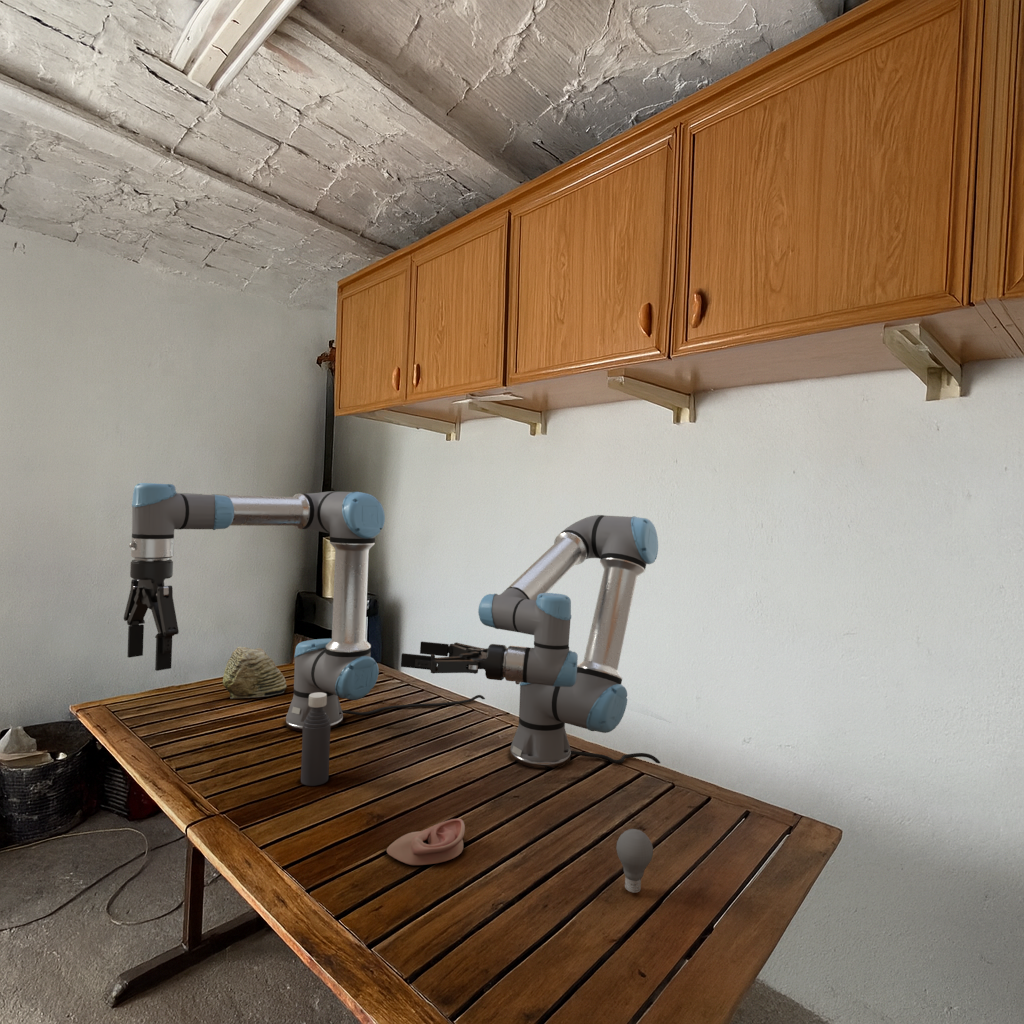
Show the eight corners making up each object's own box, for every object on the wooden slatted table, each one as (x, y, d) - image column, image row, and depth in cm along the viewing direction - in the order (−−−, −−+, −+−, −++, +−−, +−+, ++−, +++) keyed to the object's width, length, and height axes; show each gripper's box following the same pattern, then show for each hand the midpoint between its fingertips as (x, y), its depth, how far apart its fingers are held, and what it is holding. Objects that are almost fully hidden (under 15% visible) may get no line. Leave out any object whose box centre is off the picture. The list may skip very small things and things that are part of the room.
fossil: (218, 695, 195) (220, 647, 195) (278, 685, 208) (279, 640, 207) (228, 703, 189) (230, 653, 188) (289, 692, 201) (290, 645, 201)
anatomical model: (380, 837, 111) (404, 807, 122) (379, 860, 111) (403, 827, 122) (452, 849, 108) (470, 817, 120) (451, 872, 108) (469, 838, 120)
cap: (329, 703, 143) (330, 693, 142) (320, 708, 139) (320, 698, 139) (314, 701, 144) (315, 691, 143) (304, 706, 140) (305, 696, 140)
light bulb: (610, 879, 108) (613, 822, 108) (644, 879, 109) (647, 822, 109) (619, 902, 102) (622, 840, 102) (655, 901, 103) (658, 840, 103)
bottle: (333, 776, 144) (336, 694, 143) (319, 787, 138) (322, 702, 138) (310, 772, 145) (313, 691, 145) (295, 783, 139) (298, 699, 139)
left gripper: (108, 554, 134) (104, 654, 134) (159, 565, 118) (155, 678, 119) (146, 552, 140) (143, 648, 140) (199, 563, 124) (195, 671, 124)
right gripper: (494, 695, 125) (391, 684, 128) (513, 667, 150) (426, 658, 153) (496, 657, 125) (393, 647, 128) (515, 635, 150) (428, 627, 153)
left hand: (148, 662), depth 129 cm, fingers open, 13 cm apart
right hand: (411, 653), depth 141 cm, fingers open, 13 cm apart
